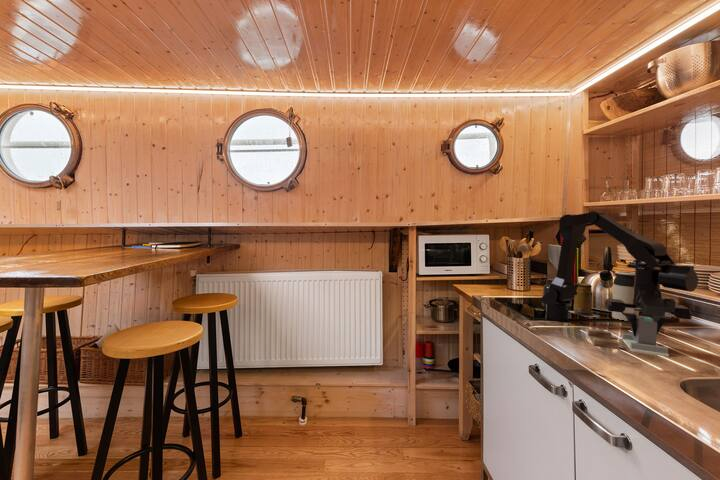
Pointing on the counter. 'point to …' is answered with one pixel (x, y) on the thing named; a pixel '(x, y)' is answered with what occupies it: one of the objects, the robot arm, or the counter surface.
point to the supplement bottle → (546, 288)
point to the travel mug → (624, 291)
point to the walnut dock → (602, 339)
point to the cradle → (644, 346)
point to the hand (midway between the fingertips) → (643, 337)
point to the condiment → (583, 301)
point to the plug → (645, 330)
